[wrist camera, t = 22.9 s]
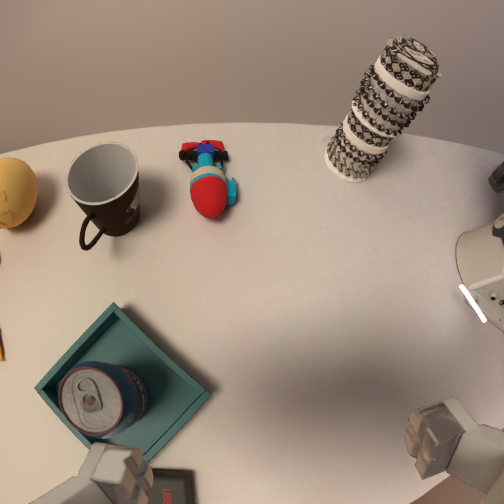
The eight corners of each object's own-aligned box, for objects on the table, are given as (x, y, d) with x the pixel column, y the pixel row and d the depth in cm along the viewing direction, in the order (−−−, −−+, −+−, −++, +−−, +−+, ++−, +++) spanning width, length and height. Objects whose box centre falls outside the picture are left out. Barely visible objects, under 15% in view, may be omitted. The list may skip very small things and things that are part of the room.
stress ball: (20, 175, 40) (-4, 135, 31) (59, 194, 40) (35, 152, 31) (-14, 225, 35) (-46, 192, 26) (22, 251, 36) (-12, 218, 26)
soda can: (159, 415, 31) (142, 432, 20) (105, 429, 29) (68, 448, 18) (139, 359, 33) (114, 350, 22) (86, 373, 31) (42, 368, 20)
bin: (210, 392, 34) (211, 394, 31) (132, 474, 28) (126, 483, 25) (120, 308, 36) (113, 301, 32) (46, 387, 30) (34, 387, 27)
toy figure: (177, 152, 47) (182, 228, 40) (179, 127, 43) (184, 203, 36) (224, 152, 50) (240, 226, 42) (229, 128, 46) (247, 201, 38)
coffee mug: (118, 178, 42) (104, 131, 33) (160, 209, 42) (154, 164, 32) (62, 236, 38) (33, 198, 28) (103, 274, 37) (78, 242, 28)
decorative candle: (365, 194, 49) (454, 83, 26) (315, 167, 49) (384, 39, 26) (375, 159, 53) (449, 56, 30) (330, 134, 53) (390, 20, 30)
